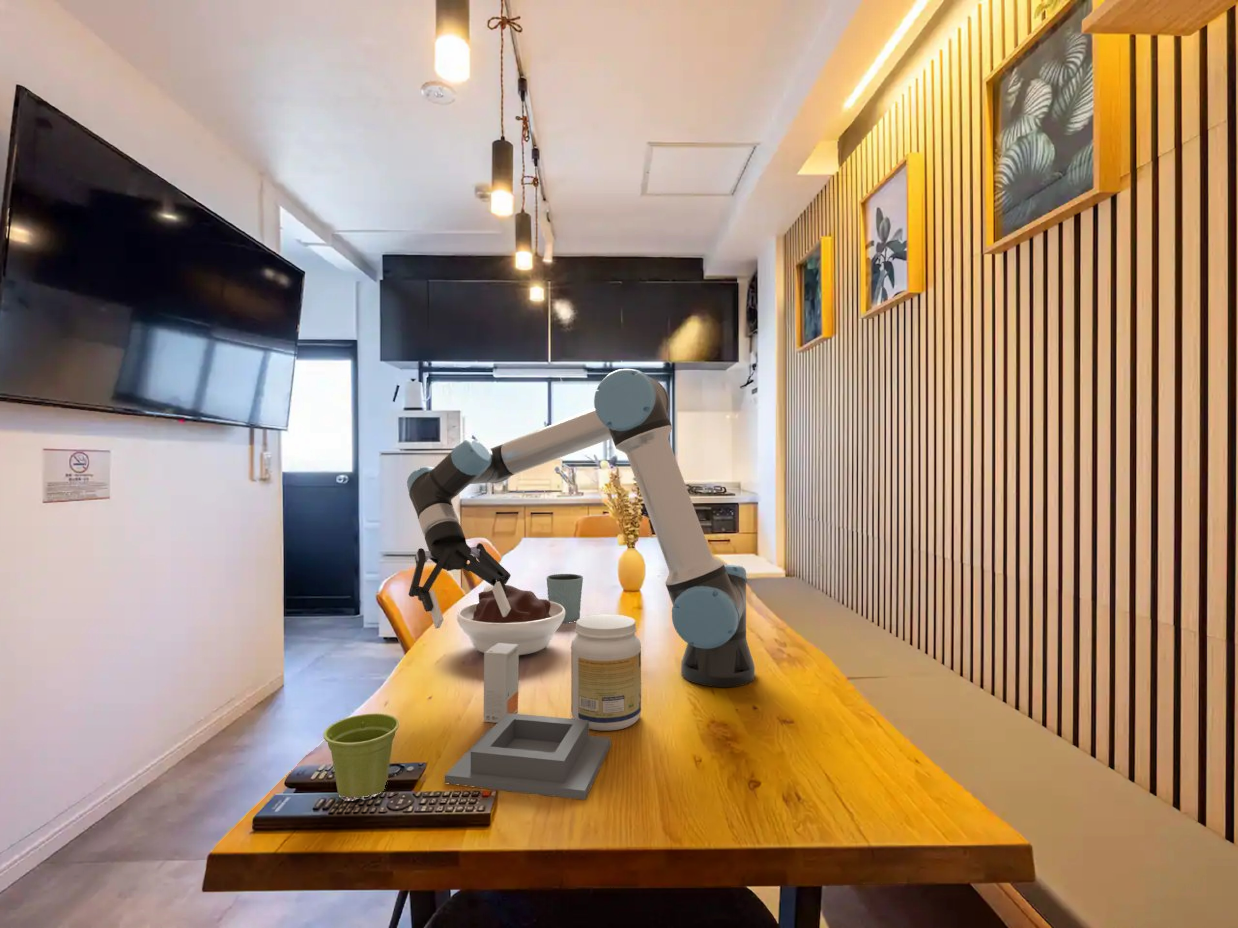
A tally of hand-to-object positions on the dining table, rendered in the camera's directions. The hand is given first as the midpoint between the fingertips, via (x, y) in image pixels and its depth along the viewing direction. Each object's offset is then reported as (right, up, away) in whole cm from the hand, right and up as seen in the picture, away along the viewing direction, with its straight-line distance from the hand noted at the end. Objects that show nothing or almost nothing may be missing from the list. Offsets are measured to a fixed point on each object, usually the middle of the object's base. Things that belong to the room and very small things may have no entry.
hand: (474, 618), depth 117 cm
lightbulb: (-7, -15, +55) cm, 57 cm away
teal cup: (+12, -15, +58) cm, 61 cm away
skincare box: (+7, -15, -8) cm, 18 cm away
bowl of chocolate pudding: (+2, -15, +30) cm, 33 cm away
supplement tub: (+25, -15, -9) cm, 30 cm away
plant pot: (-8, -15, -33) cm, 37 cm away
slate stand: (+14, -15, -25) cm, 33 cm away
